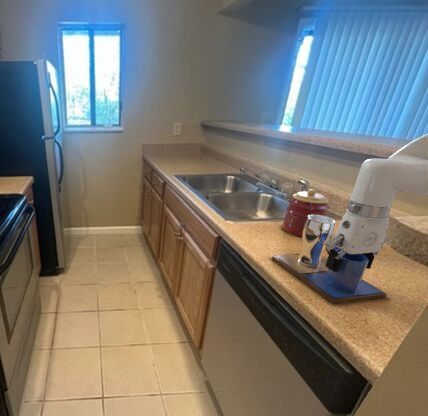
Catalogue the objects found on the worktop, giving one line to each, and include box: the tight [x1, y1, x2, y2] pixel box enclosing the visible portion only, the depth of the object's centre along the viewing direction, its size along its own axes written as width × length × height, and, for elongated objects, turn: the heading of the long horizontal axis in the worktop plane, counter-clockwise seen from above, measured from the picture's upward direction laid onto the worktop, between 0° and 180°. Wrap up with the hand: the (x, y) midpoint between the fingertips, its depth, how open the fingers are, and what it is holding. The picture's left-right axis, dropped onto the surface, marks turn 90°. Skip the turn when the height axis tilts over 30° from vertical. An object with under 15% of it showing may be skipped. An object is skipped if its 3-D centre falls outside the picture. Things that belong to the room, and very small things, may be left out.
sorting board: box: [271, 253, 388, 305], centre depth 81 cm, size 16×22×1 cm
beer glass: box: [297, 215, 337, 267], centre depth 84 cm, size 7×7×15 cm
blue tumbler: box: [325, 249, 369, 291], centre depth 75 cm, size 7×7×9 cm
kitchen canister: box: [282, 188, 331, 238], centre depth 107 cm, size 13×13×18 cm
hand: (347, 267), depth 74 cm, fingers open, 9 cm apart
